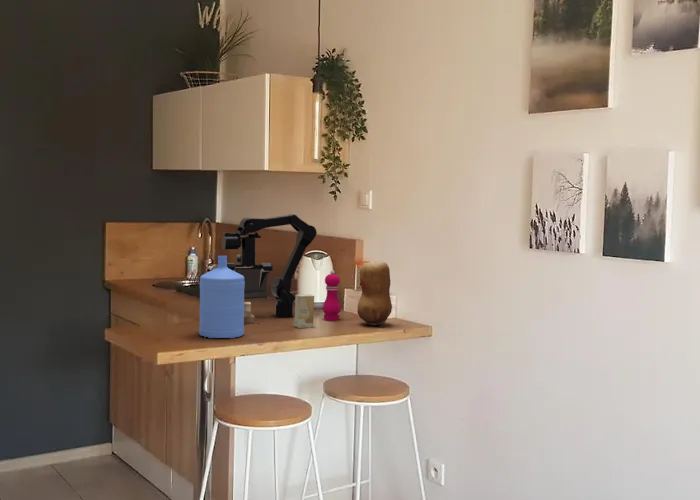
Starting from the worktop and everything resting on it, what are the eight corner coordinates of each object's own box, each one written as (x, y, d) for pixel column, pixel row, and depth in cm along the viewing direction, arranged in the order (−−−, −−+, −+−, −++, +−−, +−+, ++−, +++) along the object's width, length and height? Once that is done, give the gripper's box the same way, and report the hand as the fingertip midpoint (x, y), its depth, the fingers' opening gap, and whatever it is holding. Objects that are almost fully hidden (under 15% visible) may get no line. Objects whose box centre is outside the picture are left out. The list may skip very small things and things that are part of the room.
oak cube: (250, 314, 306) (250, 302, 306) (250, 316, 301) (250, 303, 301) (237, 314, 306) (237, 301, 305) (237, 316, 301) (237, 303, 300)
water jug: (251, 337, 275) (252, 257, 272) (209, 340, 266) (210, 258, 264) (232, 329, 288) (233, 253, 285) (192, 333, 279) (192, 254, 277)
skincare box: (298, 328, 294) (299, 296, 293) (293, 326, 298) (294, 294, 297) (314, 327, 297) (314, 295, 296) (309, 325, 301) (310, 293, 300)
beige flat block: (252, 321, 308) (252, 314, 308) (254, 324, 302) (254, 317, 301) (234, 322, 306) (234, 314, 306) (236, 325, 300) (236, 317, 300)
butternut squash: (352, 322, 309) (353, 259, 307) (383, 321, 314) (385, 259, 312) (365, 328, 296) (367, 262, 294) (397, 327, 301) (399, 262, 299)
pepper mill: (344, 319, 315) (345, 270, 314) (331, 321, 310) (332, 271, 308) (331, 317, 320) (332, 268, 319) (318, 319, 315) (319, 269, 313)
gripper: (269, 247, 322) (269, 285, 323) (223, 247, 318) (223, 286, 319) (272, 250, 311) (272, 289, 312) (225, 250, 307) (225, 289, 308)
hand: (248, 288), depth 313 cm, fingers open, 9 cm apart
